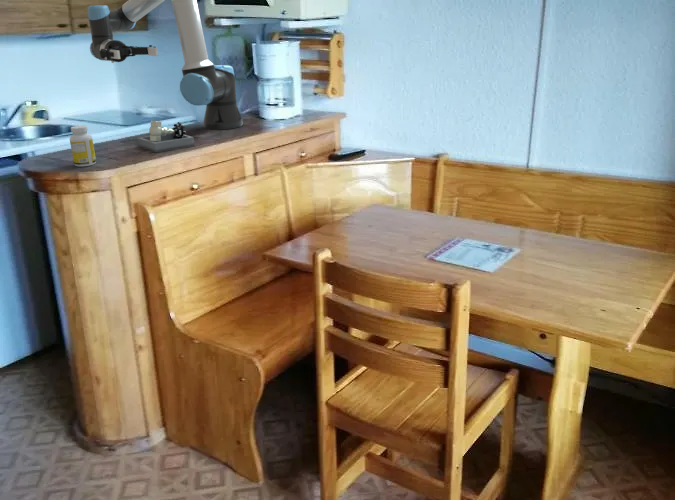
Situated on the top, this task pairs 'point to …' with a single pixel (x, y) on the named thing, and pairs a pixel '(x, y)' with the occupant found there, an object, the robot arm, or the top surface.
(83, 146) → the pill bottle
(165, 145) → the parts tray
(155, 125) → the valve
